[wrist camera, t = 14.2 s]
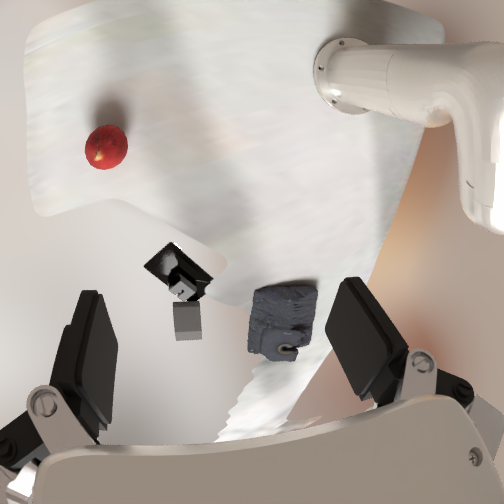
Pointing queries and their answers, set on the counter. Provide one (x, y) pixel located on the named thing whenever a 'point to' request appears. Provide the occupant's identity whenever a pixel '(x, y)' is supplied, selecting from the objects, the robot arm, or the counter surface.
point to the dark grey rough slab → (281, 321)
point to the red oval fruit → (106, 147)
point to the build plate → (179, 273)
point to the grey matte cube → (187, 320)
